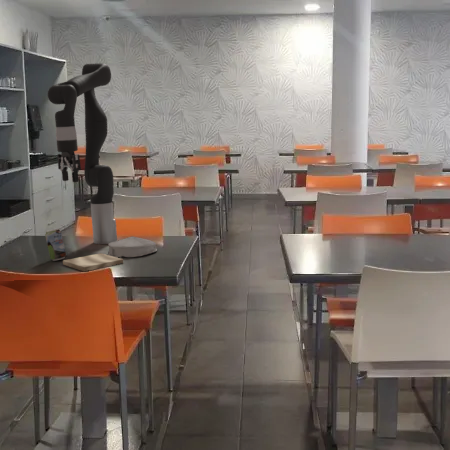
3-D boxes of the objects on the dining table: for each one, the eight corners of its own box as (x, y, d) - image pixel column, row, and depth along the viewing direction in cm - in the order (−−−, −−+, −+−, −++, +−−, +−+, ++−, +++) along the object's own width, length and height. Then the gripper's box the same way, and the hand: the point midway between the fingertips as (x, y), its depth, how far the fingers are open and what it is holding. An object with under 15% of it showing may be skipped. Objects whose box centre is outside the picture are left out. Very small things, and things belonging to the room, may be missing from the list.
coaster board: (101, 256, 244) (100, 253, 244) (123, 263, 232) (123, 259, 232) (63, 264, 234) (62, 260, 234) (84, 271, 222) (83, 267, 222)
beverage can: (62, 261, 238) (59, 230, 236) (44, 261, 240) (41, 230, 238) (69, 258, 244) (67, 227, 242) (52, 258, 246) (49, 227, 244)
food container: (96, 255, 251) (95, 238, 250) (136, 245, 265) (135, 229, 264) (128, 262, 237) (127, 244, 236) (168, 251, 252) (167, 234, 250)
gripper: (84, 138, 237) (88, 181, 240) (67, 138, 247) (71, 179, 251) (65, 139, 232) (69, 183, 235) (49, 139, 243) (53, 181, 246)
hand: (70, 181), depth 243 cm, fingers open, 8 cm apart
